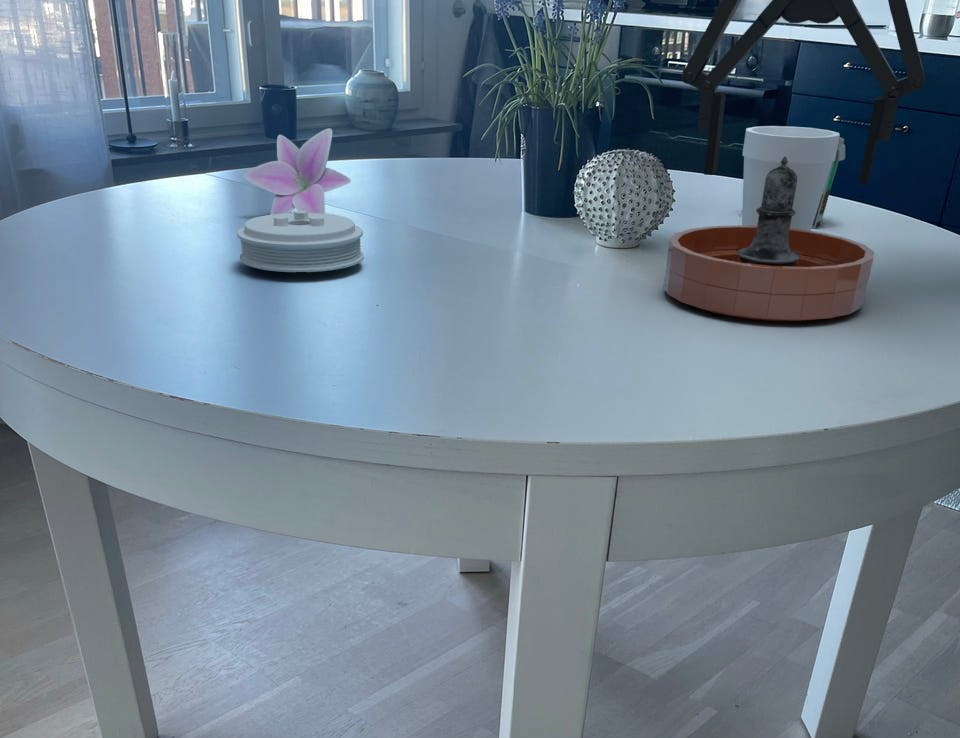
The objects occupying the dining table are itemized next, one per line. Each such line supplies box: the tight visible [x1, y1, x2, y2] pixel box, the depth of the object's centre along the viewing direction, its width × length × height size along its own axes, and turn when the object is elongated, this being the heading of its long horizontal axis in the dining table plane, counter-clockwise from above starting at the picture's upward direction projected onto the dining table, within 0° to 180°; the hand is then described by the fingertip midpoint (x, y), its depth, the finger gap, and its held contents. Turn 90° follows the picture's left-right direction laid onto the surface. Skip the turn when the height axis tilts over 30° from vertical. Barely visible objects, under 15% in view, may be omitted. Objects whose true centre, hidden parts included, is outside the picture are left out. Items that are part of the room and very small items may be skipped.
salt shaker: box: [737, 156, 801, 267], centre depth 94 cm, size 6×6×12 cm
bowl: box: [663, 224, 875, 322], centre depth 97 cm, size 19×19×5 cm
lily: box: [242, 127, 352, 215], centre depth 125 cm, size 12×12×10 cm
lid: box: [236, 210, 365, 273], centre depth 104 cm, size 13×13×5 cm
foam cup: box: [741, 125, 841, 231], centre depth 107 cm, size 10×9×13 cm
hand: (785, 177), depth 92 cm, fingers open, 13 cm apart
